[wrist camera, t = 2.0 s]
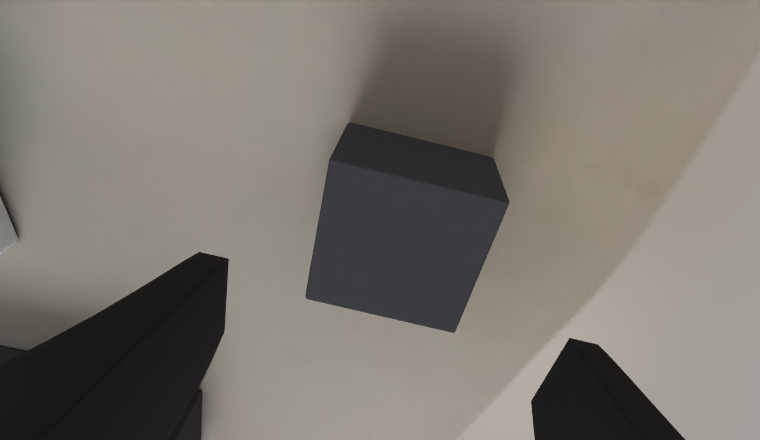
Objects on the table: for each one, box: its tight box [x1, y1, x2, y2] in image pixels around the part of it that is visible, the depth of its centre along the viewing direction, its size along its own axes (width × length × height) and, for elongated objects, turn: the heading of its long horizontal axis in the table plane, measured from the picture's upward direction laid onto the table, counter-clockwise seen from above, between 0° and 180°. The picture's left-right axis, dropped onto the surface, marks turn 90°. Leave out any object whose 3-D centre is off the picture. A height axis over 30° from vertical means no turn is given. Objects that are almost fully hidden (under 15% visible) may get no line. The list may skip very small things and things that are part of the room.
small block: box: [305, 123, 509, 333], centre depth 13 cm, size 5×5×3 cm
